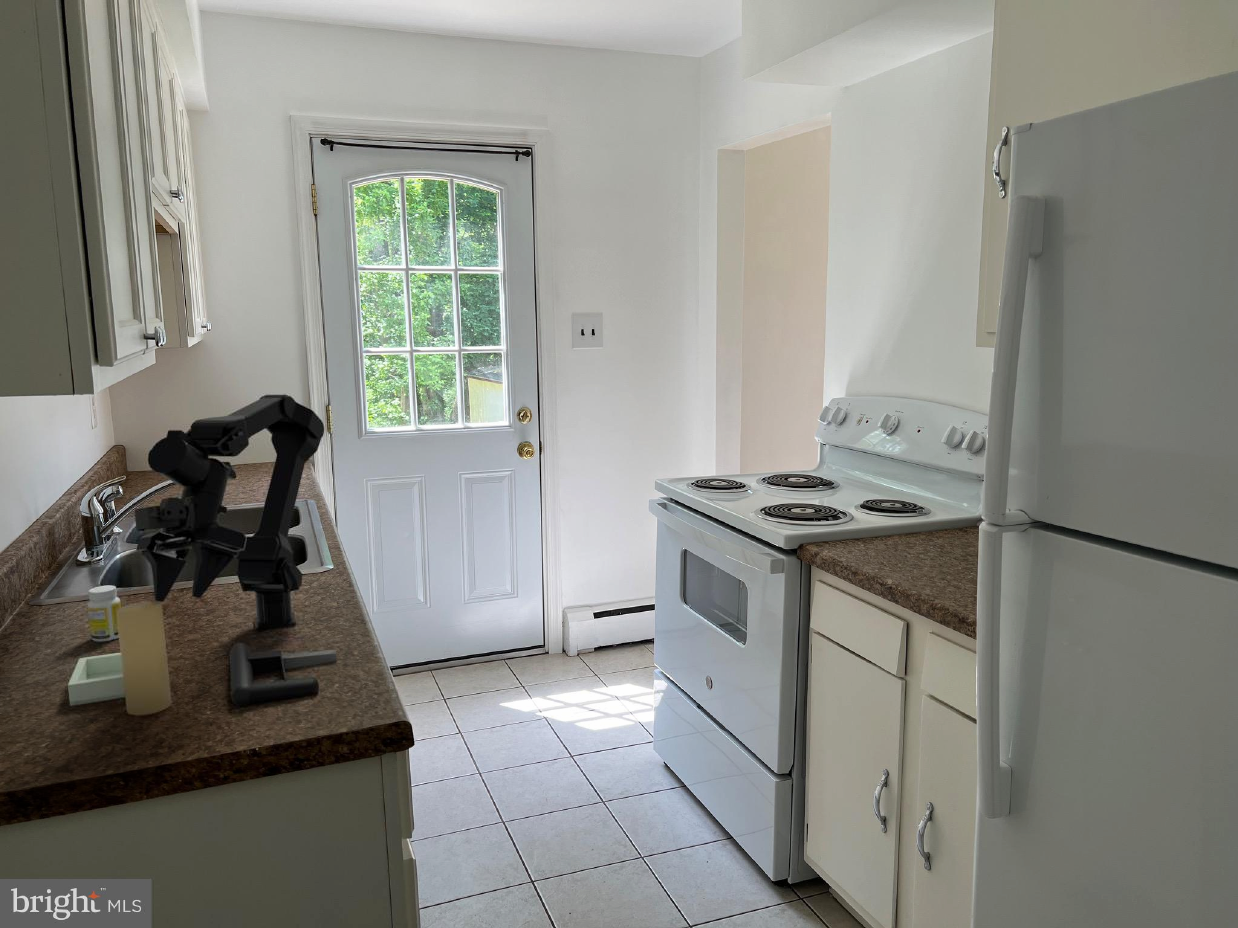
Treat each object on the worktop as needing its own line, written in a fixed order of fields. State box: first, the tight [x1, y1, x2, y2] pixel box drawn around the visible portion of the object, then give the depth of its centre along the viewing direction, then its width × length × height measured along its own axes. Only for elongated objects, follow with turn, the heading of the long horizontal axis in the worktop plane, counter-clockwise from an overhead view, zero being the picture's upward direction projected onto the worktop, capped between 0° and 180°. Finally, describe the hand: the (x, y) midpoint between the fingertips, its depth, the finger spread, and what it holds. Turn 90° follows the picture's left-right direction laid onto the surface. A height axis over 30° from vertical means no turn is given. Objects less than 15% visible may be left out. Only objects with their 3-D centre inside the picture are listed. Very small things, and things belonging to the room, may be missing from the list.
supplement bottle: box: [87, 585, 122, 642], centre depth 150 cm, size 5×5×8 cm
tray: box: [67, 652, 125, 707], centre depth 130 cm, size 11×11×3 cm
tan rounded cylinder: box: [116, 601, 172, 716], centre depth 121 cm, size 5×5×14 cm
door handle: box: [222, 642, 337, 707], centre depth 133 cm, size 3×20×16 cm
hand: (177, 599), depth 129 cm, fingers open, 9 cm apart
